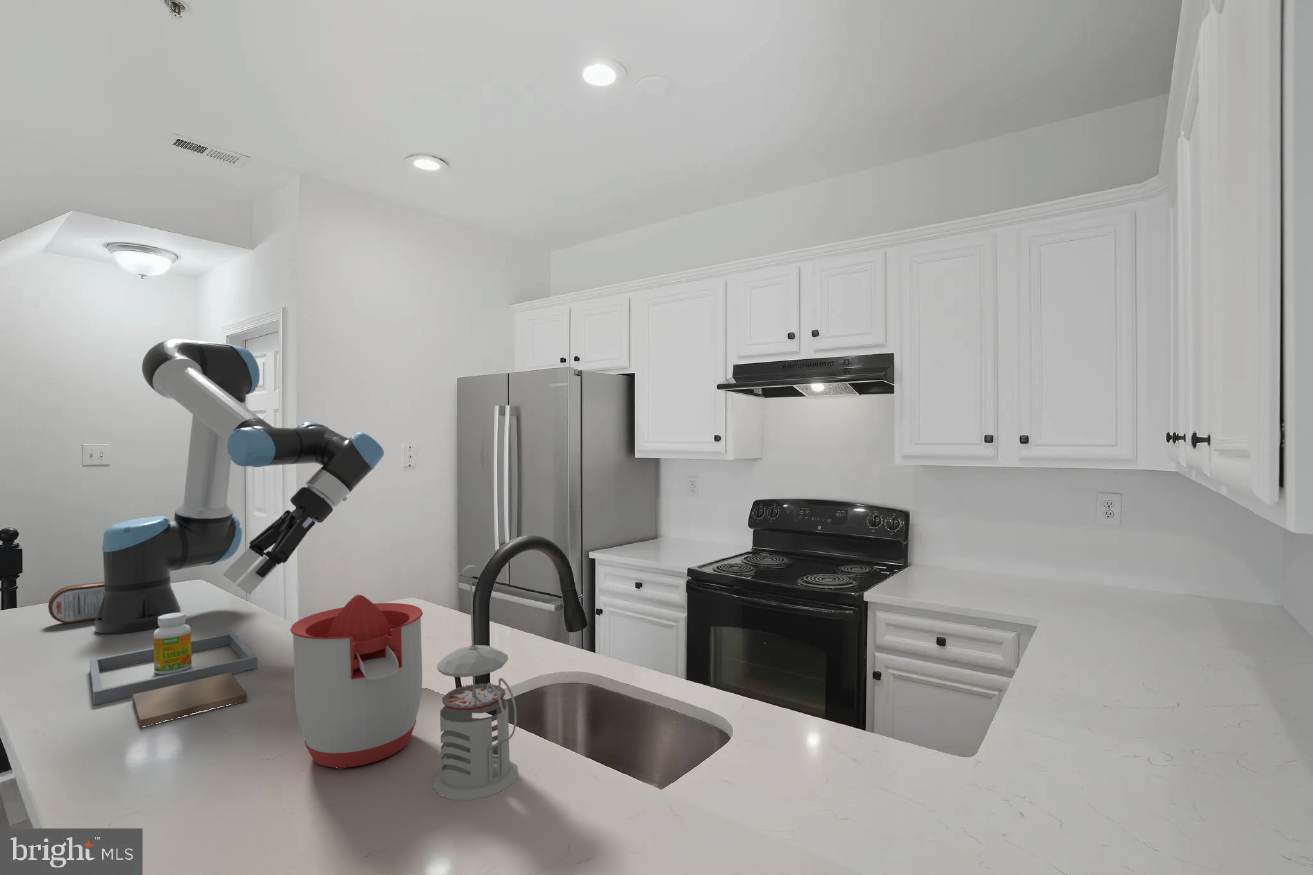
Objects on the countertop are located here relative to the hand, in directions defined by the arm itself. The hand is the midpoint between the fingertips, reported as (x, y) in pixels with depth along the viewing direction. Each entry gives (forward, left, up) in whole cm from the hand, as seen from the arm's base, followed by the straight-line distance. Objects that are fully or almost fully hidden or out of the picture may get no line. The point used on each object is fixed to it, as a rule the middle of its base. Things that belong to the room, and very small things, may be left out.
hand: (235, 584), depth 123 cm
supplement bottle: (+5, -8, -14) cm, 17 cm away
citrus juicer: (+43, +36, -14) cm, 58 cm away
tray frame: (+5, -8, -14) cm, 17 cm away
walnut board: (+22, +3, -14) cm, 26 cm away
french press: (+53, +52, -14) cm, 76 cm away
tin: (-36, -48, -14) cm, 62 cm away
